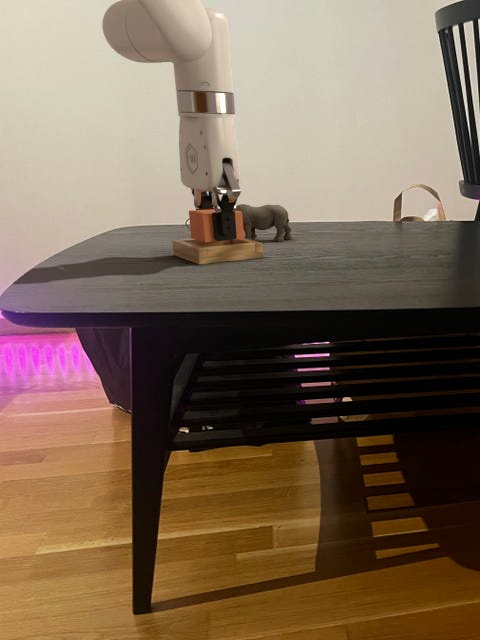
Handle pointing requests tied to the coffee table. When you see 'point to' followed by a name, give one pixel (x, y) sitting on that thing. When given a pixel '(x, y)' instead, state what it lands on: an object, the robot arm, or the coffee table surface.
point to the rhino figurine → (265, 220)
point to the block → (210, 225)
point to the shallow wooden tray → (217, 250)
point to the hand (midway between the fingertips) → (217, 236)
